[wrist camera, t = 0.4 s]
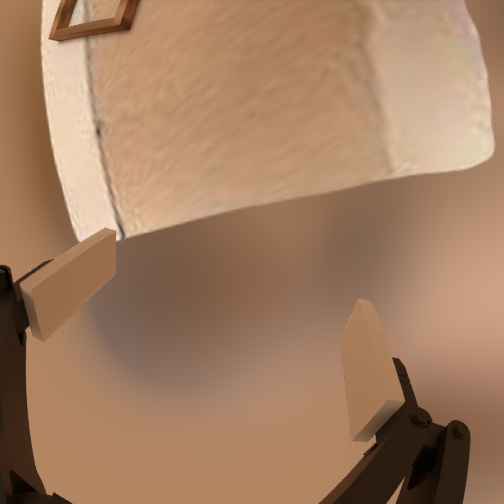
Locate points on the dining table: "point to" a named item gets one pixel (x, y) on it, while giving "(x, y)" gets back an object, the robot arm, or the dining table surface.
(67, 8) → the dock
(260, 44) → the dining table surface
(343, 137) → the dining table surface
